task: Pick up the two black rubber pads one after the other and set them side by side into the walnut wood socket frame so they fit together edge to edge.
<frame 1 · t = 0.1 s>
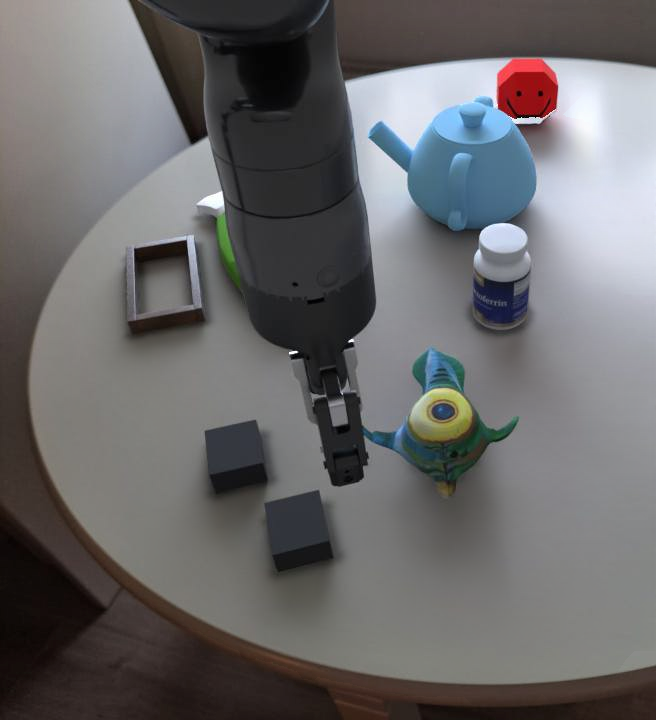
hand: (335, 432, 57), 13 cm above the table, tool pointing down, fingers open, 8 cm apart
pill bottle: (499, 315, 84), on the table
teapot: (453, 202, 99), on the table
pad a: (301, 539, 65), on the table
pad b: (239, 464, 70), on the table
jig: (166, 288, 86), on the table
decorative fish: (433, 439, 73), on the table
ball: (525, 118, 113), on the table
spray bottle: (267, 255, 91), on the table
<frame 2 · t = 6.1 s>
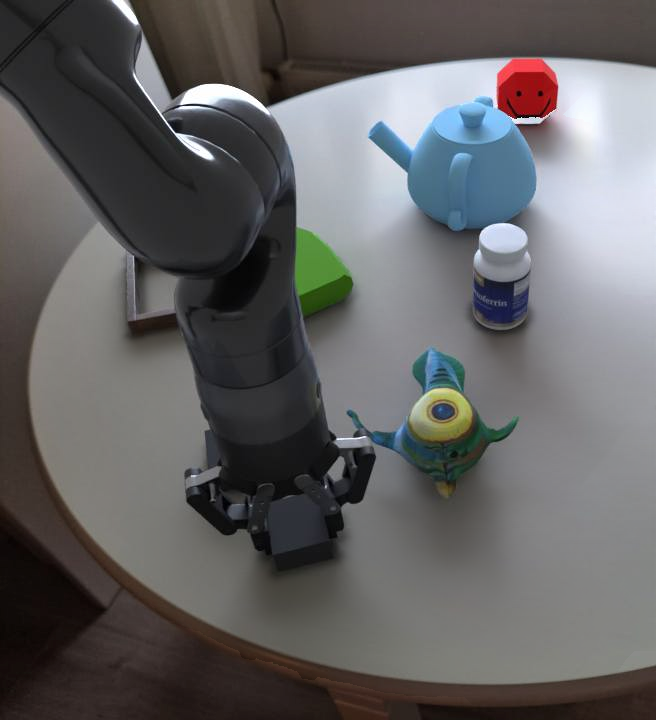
hand: (300, 537, 65), 0 cm above the table, tool pointing down, fingers closed on pad a, 4 cm apart
pad a: (301, 539, 65), on the table, touching gripper
everything else where it was.
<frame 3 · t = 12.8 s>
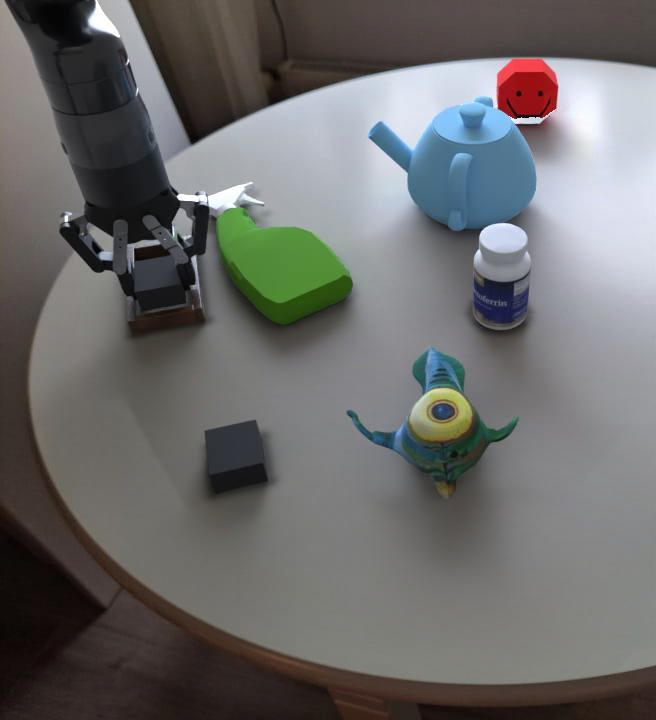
hand: (162, 290, 83), 2 cm above the table, tool pointing down, fingers closed on pad a, 4 cm apart
pad a: (163, 292, 83), point 2 cm above the table, touching gripper
everything else where it was.
when the fingers open (2 cm above the table, at t = 16.7 s): pad a drops 2 cm, resting in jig.
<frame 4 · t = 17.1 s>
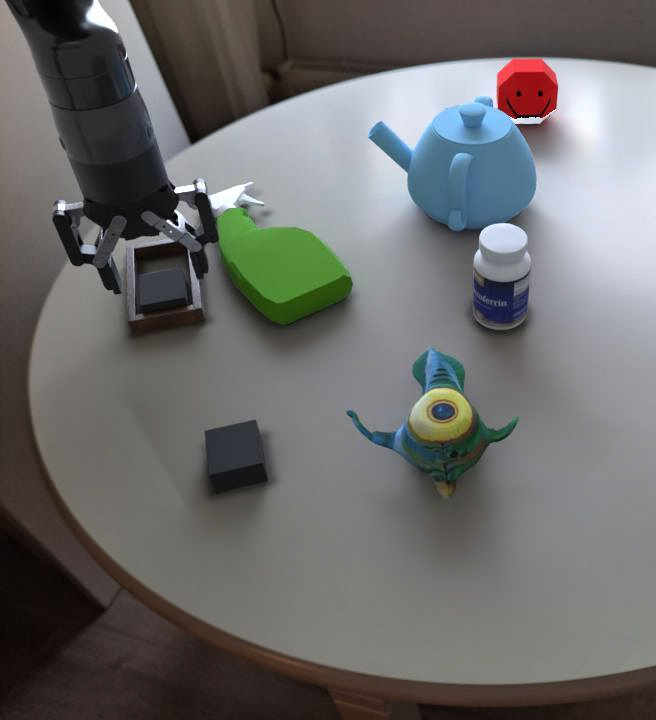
hand: (159, 281, 82), 3 cm above the table, tool pointing down, fingers open, 7 cm apart
pad a: (168, 304, 84), resting in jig
everything else where it was.
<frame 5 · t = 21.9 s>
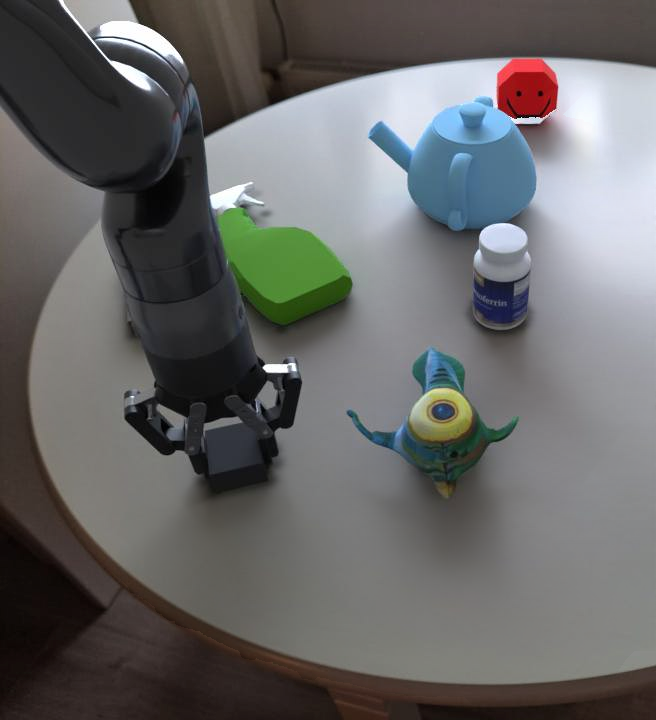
hand: (238, 462, 70), 0 cm above the table, tool pointing down, fingers closed on pad b, 4 cm apart
pad b: (239, 464, 70), on the table, touching gripper
everything else where it was.
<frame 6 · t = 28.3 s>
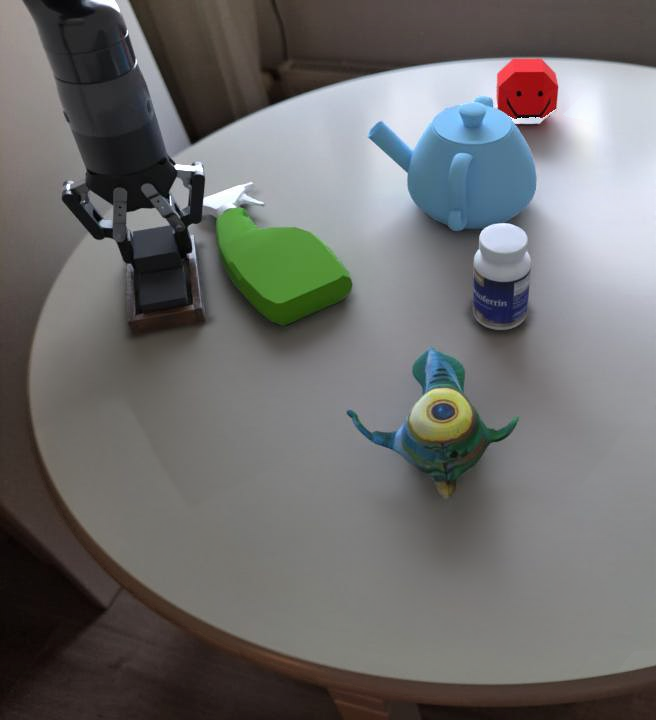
hand: (160, 258, 87), 2 cm above the table, tool pointing down, fingers closed on pad b, 4 cm apart
pad b: (161, 260, 87), point 2 cm above the table, touching gripper
everything else where it was.
when the fingers open (2 cm above the table, at t = 32.2 s): pad b drops 2 cm, resting in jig.
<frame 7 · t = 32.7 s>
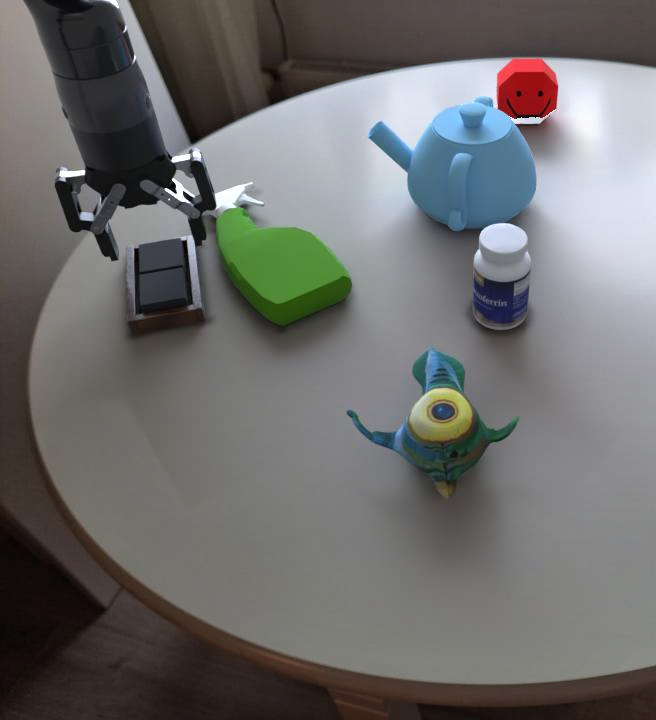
hand: (157, 249, 86), 3 cm above the table, tool pointing down, fingers open, 8 cm apart
pad b: (166, 273, 88), resting in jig
everything else where it was.
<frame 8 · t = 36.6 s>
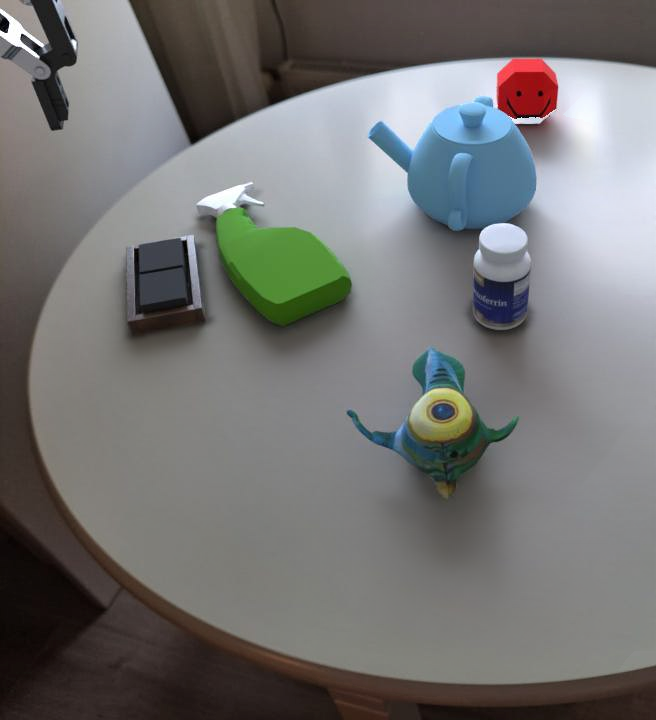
nothing on the table moved.
at the end: pad a inside the target area on the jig (2.7 cm from its centre), point 0.0 cm above the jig's base; pad b inside the target area on the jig (2.7 cm from its centre), point 0.0 cm above the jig's base; pad a 5.4 cm from the pad b (horizontally) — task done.
